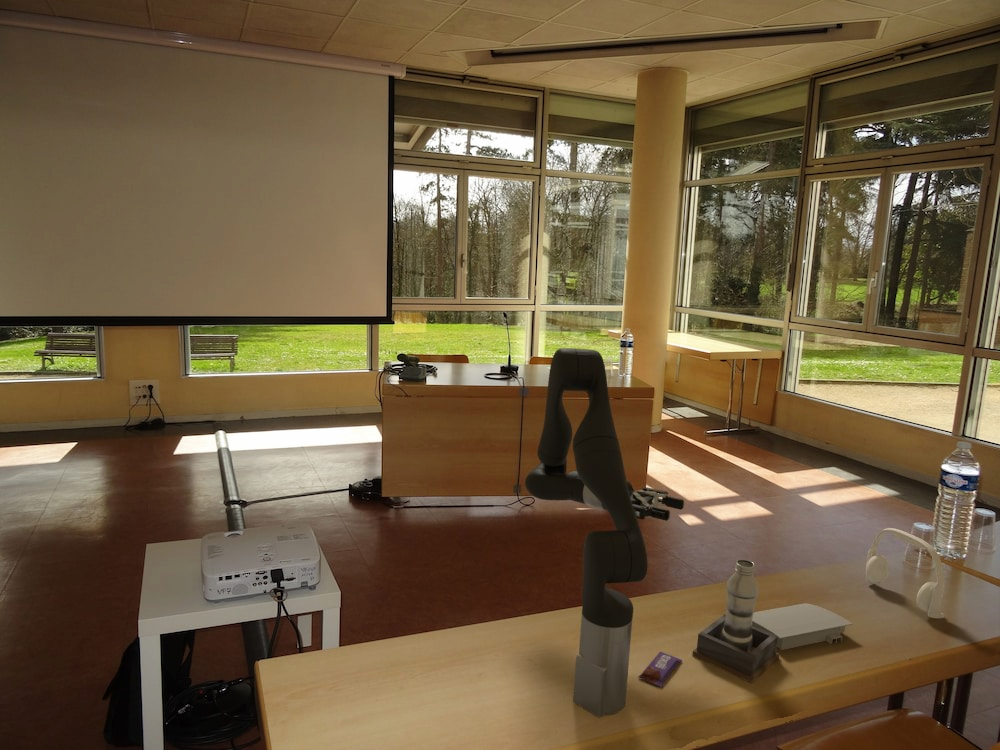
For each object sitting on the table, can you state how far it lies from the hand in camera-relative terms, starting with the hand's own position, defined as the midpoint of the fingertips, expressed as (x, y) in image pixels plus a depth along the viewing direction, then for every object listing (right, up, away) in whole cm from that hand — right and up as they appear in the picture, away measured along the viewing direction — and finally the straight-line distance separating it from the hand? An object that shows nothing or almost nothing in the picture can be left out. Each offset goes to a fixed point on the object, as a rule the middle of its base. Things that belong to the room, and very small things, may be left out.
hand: (676, 510), depth 150 cm
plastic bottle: (+12, -30, -2) cm, 32 cm away
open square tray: (+12, -30, -2) cm, 33 cm away
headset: (+62, -28, +25) cm, 73 cm away
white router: (+29, -30, +9) cm, 43 cm away
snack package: (-5, -32, -8) cm, 33 cm away
